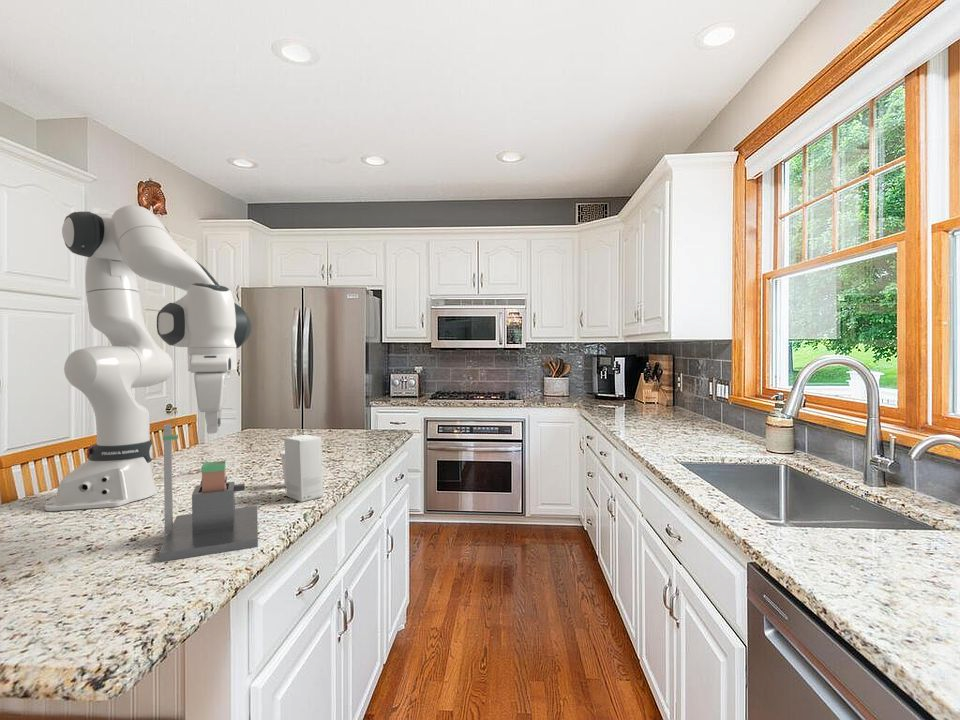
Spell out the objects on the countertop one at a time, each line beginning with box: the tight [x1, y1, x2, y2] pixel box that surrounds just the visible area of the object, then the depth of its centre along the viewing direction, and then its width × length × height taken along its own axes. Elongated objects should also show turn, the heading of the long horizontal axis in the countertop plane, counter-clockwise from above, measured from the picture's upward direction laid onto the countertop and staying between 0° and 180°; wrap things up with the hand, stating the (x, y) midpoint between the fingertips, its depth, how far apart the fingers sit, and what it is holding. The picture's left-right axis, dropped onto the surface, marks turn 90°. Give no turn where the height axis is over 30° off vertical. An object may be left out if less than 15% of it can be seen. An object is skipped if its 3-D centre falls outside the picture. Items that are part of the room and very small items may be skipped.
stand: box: [158, 424, 259, 563], centre depth 99 cm, size 17×22×23 cm
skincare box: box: [284, 434, 324, 503], centre depth 124 cm, size 8×7×16 cm
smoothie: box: [279, 435, 295, 488], centre depth 134 cm, size 6×6×14 cm
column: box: [200, 460, 228, 492], centre depth 99 cm, size 5×4×12 cm
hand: (214, 429), depth 99 cm, fingers open, 8 cm apart
